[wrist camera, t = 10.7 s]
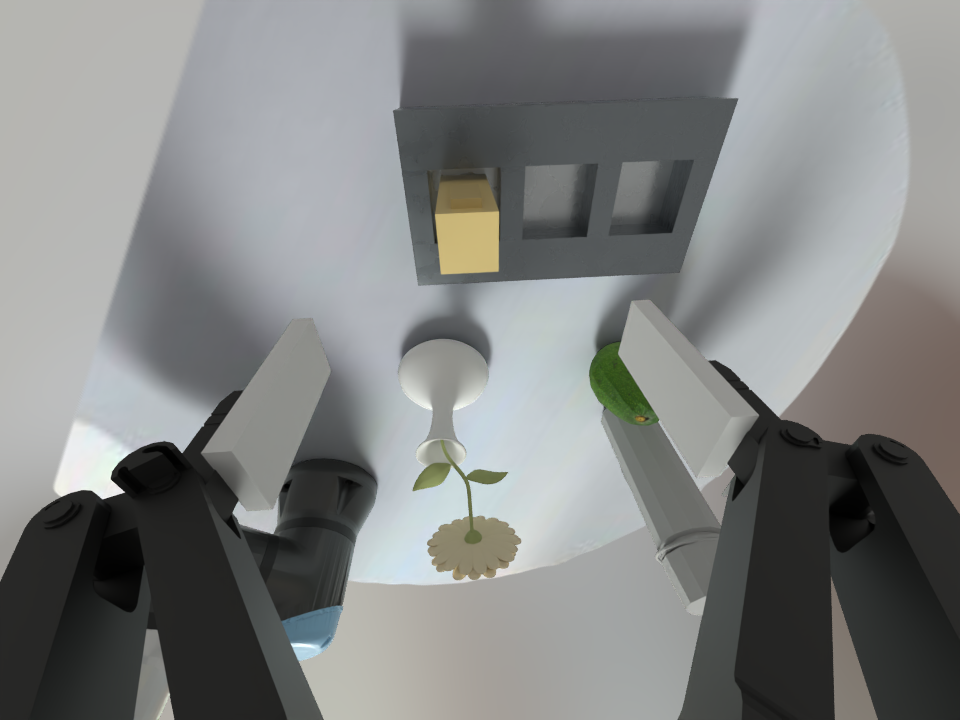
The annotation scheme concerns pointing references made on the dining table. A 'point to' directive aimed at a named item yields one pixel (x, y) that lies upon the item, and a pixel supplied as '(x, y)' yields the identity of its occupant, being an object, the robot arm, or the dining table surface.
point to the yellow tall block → (467, 225)
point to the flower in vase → (454, 455)
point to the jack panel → (567, 181)
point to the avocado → (619, 388)
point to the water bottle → (668, 507)
